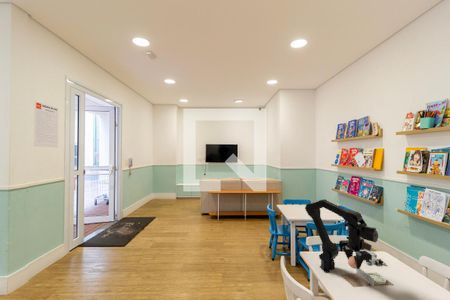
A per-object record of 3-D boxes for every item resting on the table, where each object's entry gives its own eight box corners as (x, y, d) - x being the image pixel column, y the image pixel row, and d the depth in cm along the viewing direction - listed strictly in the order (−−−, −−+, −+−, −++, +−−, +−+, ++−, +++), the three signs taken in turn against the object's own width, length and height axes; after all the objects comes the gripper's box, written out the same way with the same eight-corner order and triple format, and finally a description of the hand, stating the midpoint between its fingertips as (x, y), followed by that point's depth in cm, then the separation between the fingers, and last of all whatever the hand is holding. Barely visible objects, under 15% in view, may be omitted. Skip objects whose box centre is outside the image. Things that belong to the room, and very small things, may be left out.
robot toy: (387, 269, 135) (372, 255, 150) (387, 261, 135) (372, 249, 150) (366, 268, 136) (353, 255, 151) (366, 261, 136) (353, 248, 150)
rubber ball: (352, 271, 117) (352, 259, 117) (345, 265, 123) (345, 254, 123) (363, 270, 117) (363, 259, 117) (356, 265, 123) (356, 254, 123)
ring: (373, 284, 116) (373, 282, 116) (361, 274, 125) (361, 272, 125) (390, 283, 117) (390, 281, 117) (377, 273, 126) (377, 272, 126)
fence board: (353, 288, 113) (353, 279, 114) (339, 275, 125) (339, 267, 125) (394, 286, 115) (394, 278, 115) (376, 274, 127) (376, 266, 127)
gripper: (382, 242, 112) (382, 274, 111) (357, 229, 130) (357, 257, 130) (360, 243, 111) (361, 275, 110) (338, 230, 129) (338, 257, 129)
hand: (354, 265), depth 120 cm, fingers closed on rubber ball, 6 cm apart
